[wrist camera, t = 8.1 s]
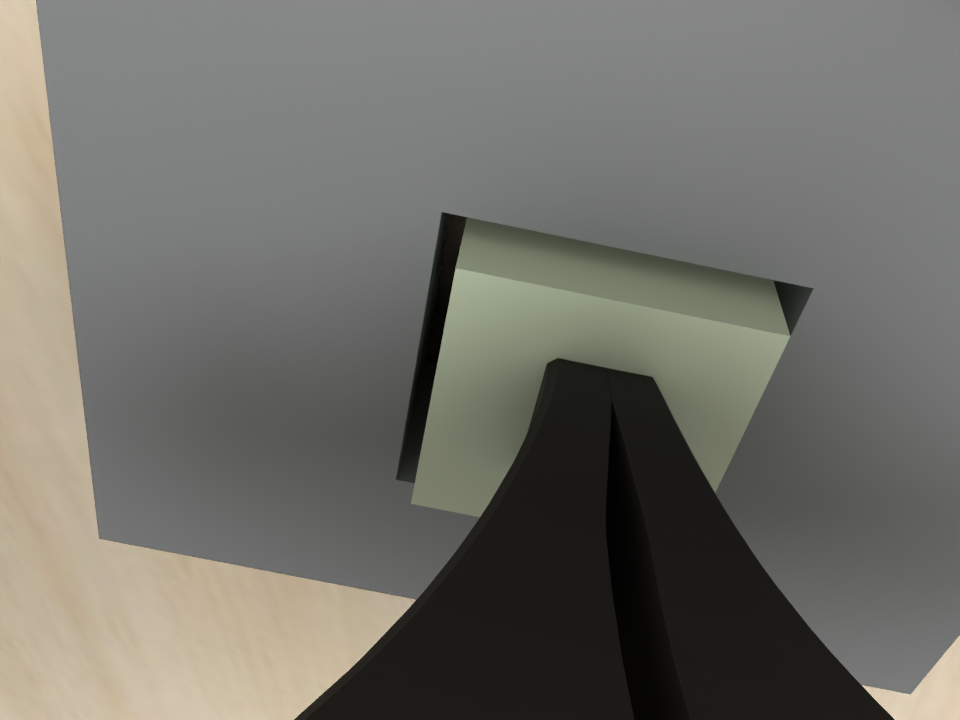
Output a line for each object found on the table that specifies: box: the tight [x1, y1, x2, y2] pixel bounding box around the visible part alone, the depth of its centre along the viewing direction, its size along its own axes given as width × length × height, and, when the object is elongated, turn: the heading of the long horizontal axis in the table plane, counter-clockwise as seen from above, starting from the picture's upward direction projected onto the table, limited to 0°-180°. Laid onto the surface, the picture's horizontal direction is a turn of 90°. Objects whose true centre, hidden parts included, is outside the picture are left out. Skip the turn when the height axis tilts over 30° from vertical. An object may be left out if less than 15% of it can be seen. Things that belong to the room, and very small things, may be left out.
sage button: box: [411, 217, 790, 517], centre depth 13 cm, size 4×4×3 cm
